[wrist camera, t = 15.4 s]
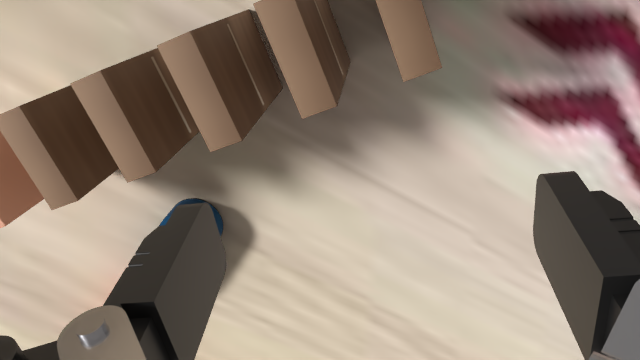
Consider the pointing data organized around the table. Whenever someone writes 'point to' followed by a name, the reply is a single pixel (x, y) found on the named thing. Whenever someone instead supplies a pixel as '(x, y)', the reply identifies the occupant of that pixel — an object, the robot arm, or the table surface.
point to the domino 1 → (14, 186)
